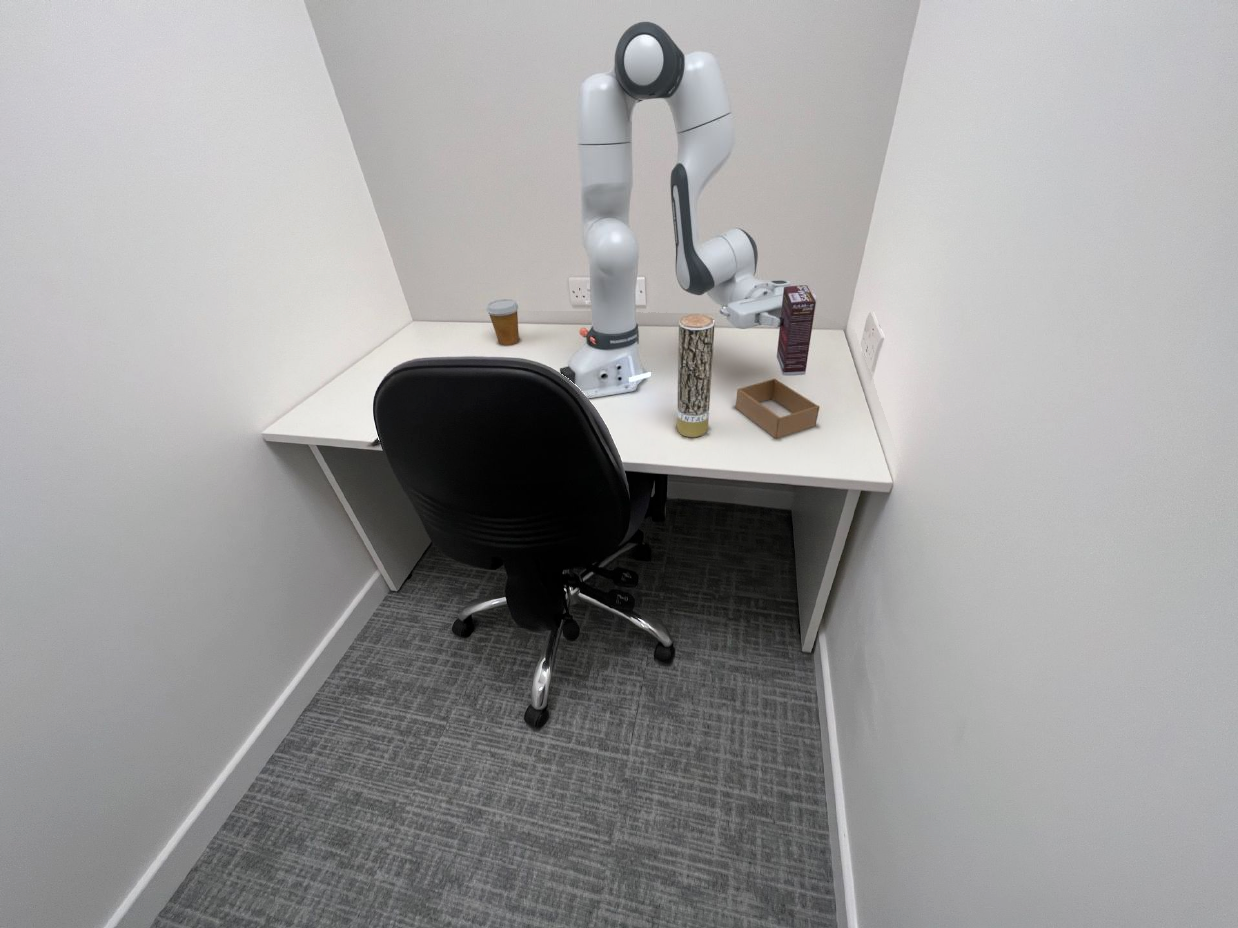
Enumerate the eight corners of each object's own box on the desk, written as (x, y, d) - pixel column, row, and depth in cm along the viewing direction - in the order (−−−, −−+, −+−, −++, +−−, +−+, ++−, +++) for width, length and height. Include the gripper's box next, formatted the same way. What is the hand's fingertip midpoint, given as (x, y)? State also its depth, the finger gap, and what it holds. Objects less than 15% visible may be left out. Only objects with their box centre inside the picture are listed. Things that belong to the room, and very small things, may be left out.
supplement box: (806, 375, 103) (817, 301, 93) (782, 376, 103) (790, 303, 93) (798, 355, 109) (807, 284, 99) (775, 356, 110) (782, 286, 100)
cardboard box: (776, 439, 105) (779, 419, 102) (735, 407, 116) (737, 389, 113) (815, 426, 108) (819, 406, 105) (771, 397, 119) (774, 378, 116)
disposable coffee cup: (530, 338, 157) (523, 301, 150) (509, 349, 151) (502, 311, 144) (508, 333, 162) (501, 297, 154) (487, 344, 155) (478, 306, 148)
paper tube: (674, 423, 112) (676, 316, 97) (704, 420, 112) (710, 313, 98) (679, 440, 107) (682, 328, 92) (710, 437, 107) (718, 325, 92)
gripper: (716, 295, 107) (755, 314, 96) (792, 279, 113) (837, 296, 102) (714, 323, 110) (751, 345, 100) (788, 306, 116) (831, 325, 106)
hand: (795, 320), depth 101 cm, fingers closed on supplement box, 6 cm apart
